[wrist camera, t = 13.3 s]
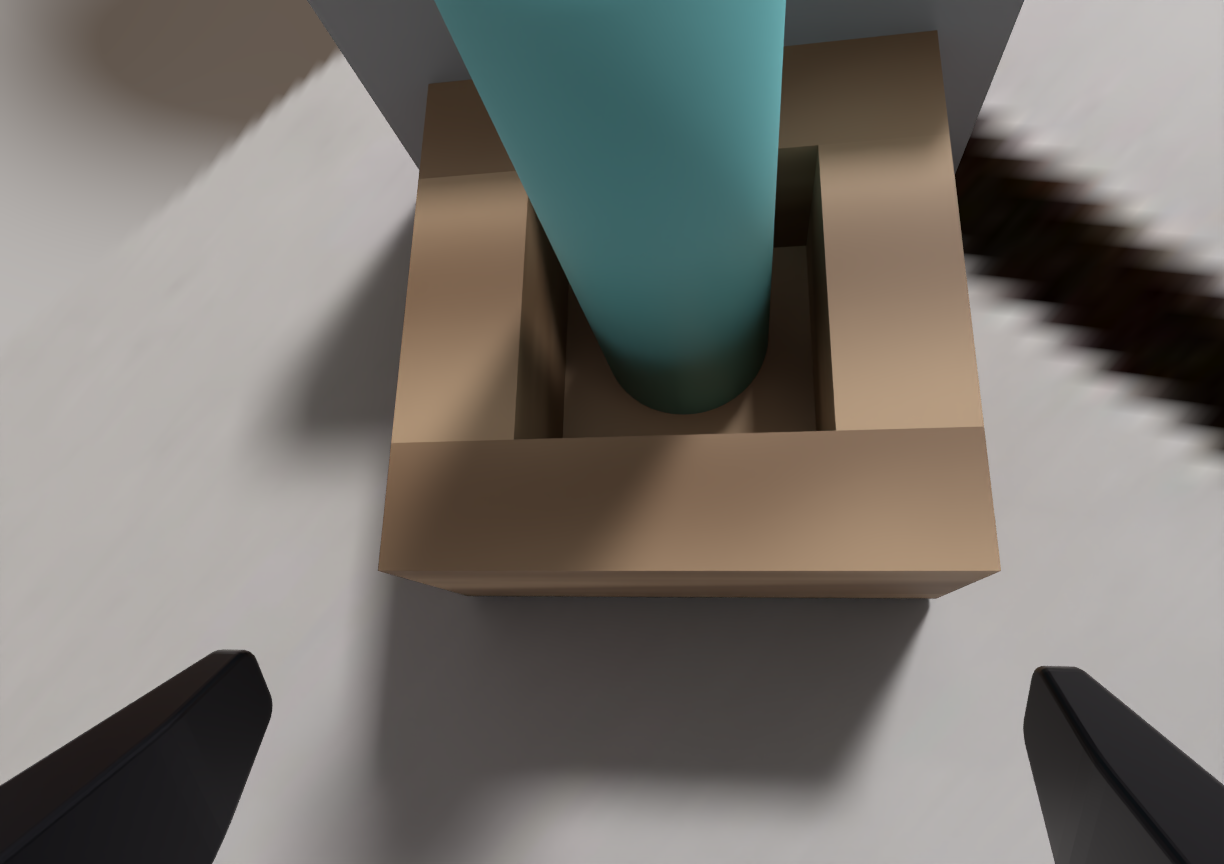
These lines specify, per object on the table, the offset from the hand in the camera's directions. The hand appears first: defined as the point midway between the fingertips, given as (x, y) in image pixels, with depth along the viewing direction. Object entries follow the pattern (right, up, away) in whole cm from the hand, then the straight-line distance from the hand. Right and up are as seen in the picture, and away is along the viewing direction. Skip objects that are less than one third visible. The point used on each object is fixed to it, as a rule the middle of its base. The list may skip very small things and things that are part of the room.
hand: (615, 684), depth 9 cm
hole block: (+2, +4, +11) cm, 12 cm away
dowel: (+2, +5, +10) cm, 12 cm away
